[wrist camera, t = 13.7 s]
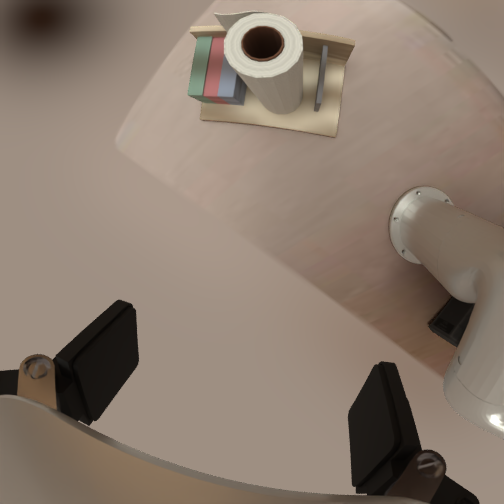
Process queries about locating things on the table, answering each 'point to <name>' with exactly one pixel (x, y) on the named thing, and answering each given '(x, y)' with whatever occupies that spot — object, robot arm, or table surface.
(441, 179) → the table surface
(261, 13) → the paper towel roll
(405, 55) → the table surface
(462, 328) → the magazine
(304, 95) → the book rack
